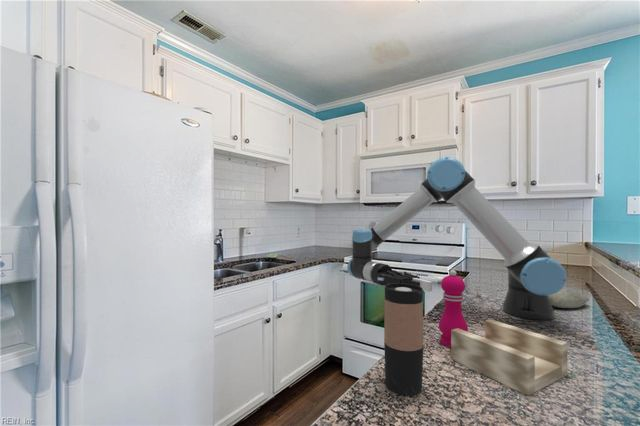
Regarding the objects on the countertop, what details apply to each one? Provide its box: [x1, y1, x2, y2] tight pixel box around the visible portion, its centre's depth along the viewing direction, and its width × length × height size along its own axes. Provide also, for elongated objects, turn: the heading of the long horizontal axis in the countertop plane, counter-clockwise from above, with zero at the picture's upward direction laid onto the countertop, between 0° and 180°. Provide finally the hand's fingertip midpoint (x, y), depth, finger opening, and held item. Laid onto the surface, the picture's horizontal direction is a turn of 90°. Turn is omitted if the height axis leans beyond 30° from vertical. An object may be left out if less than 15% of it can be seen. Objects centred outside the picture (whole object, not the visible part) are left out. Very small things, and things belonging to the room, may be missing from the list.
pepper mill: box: [438, 269, 469, 349], centre depth 81 cm, size 7×7×20 cm
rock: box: [548, 287, 590, 309], centre depth 117 cm, size 8×11×20 cm
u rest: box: [450, 318, 569, 397], centre depth 69 cm, size 17×16×7 cm
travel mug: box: [383, 283, 424, 397], centre depth 61 cm, size 8×8×20 cm
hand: (430, 286), depth 88 cm, fingers closed
